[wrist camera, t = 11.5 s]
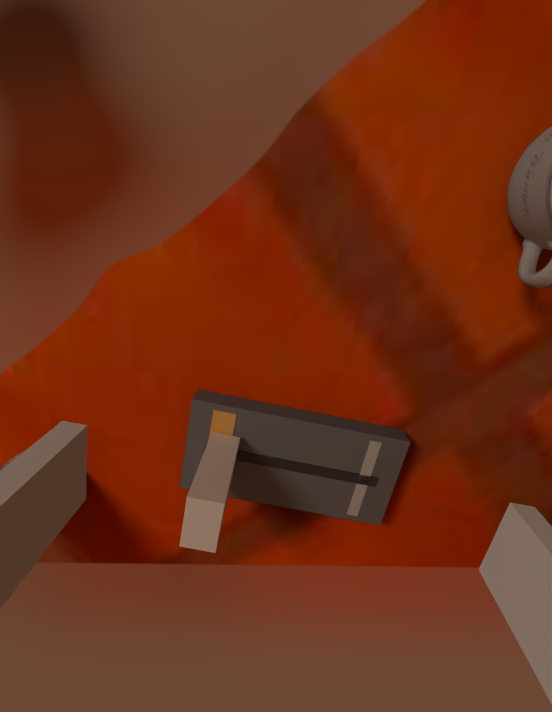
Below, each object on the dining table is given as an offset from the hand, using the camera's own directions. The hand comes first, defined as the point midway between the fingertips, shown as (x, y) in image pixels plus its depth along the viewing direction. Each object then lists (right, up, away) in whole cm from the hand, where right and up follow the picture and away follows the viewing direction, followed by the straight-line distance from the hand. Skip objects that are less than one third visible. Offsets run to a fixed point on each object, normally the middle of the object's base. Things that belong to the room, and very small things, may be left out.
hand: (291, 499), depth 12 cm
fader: (-6, -6, +28) cm, 29 cm away
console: (+1, -7, +31) cm, 32 cm away
